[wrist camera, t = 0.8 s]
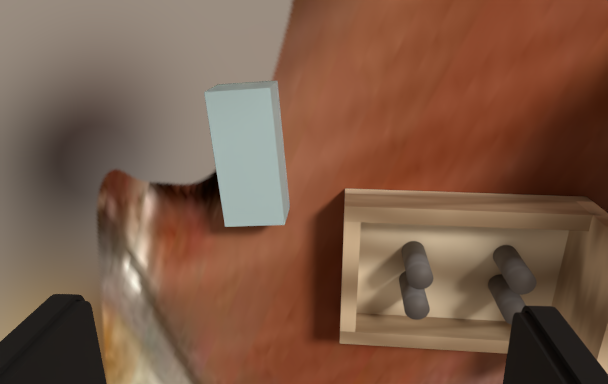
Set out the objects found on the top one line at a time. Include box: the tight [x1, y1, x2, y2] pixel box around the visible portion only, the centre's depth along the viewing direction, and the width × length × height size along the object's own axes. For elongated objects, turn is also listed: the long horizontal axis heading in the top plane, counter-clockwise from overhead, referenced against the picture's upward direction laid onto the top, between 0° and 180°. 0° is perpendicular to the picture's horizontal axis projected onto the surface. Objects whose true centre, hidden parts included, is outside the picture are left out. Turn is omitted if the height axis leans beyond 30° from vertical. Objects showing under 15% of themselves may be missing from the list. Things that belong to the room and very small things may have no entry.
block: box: [204, 81, 290, 227], centre depth 34 cm, size 10×4×4 cm, turn 5°
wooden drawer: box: [340, 189, 608, 374], centre depth 34 cm, size 12×18×8 cm, turn 90°
